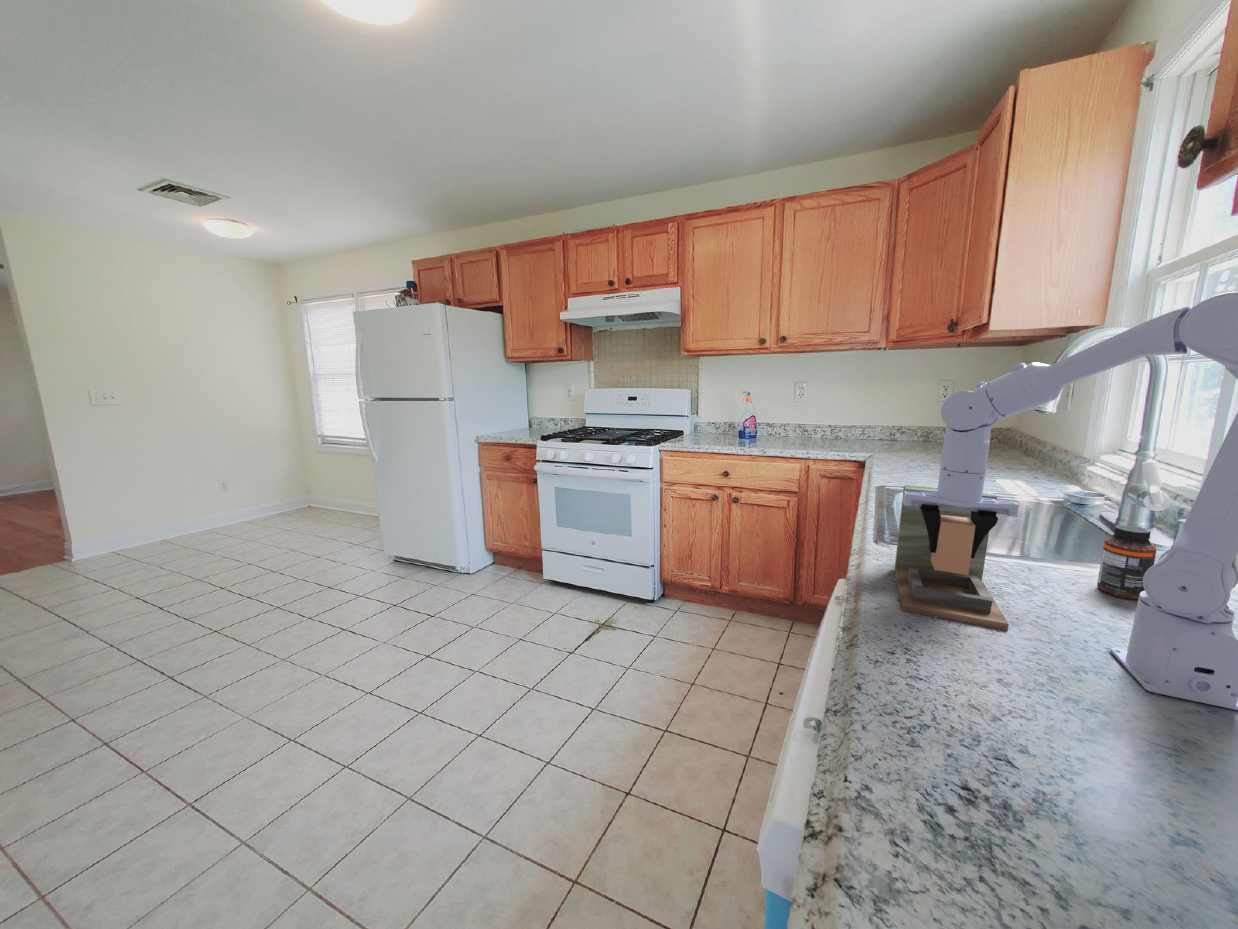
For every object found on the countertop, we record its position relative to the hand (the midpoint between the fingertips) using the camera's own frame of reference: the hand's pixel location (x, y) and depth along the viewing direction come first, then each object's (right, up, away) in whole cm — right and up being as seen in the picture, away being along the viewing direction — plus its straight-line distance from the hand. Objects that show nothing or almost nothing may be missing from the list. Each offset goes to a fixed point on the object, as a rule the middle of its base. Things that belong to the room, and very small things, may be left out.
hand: (950, 553), depth 76 cm
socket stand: (+1, -7, +3) cm, 8 cm away
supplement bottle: (+31, -8, +4) cm, 32 cm away
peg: (0, -2, +1) cm, 2 cm away
